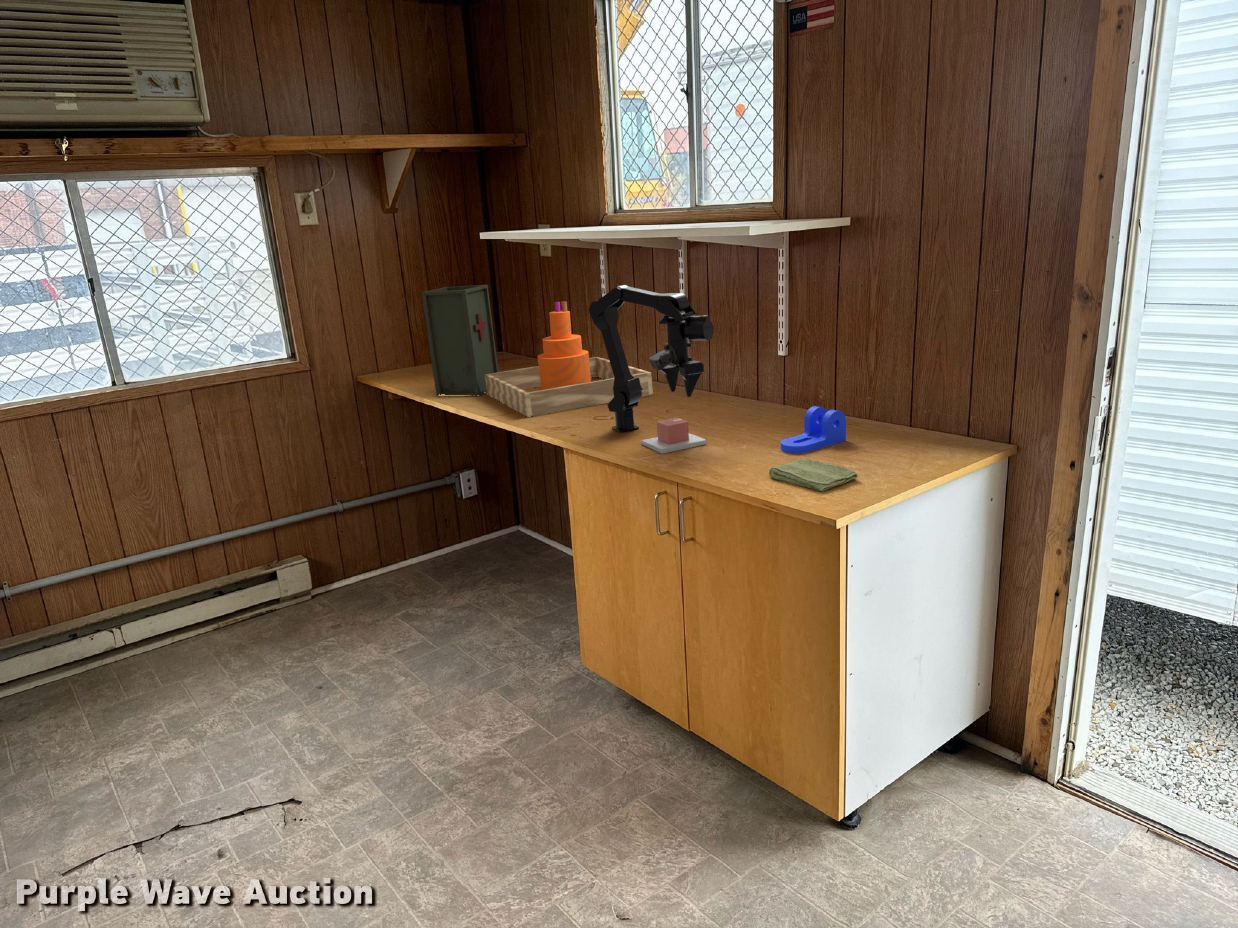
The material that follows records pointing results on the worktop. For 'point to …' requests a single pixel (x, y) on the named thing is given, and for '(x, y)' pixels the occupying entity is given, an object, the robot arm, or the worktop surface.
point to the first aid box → (460, 338)
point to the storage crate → (558, 389)
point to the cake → (562, 354)
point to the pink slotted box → (672, 431)
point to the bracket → (817, 431)
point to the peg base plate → (665, 448)
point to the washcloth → (812, 474)
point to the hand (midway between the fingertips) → (680, 394)
